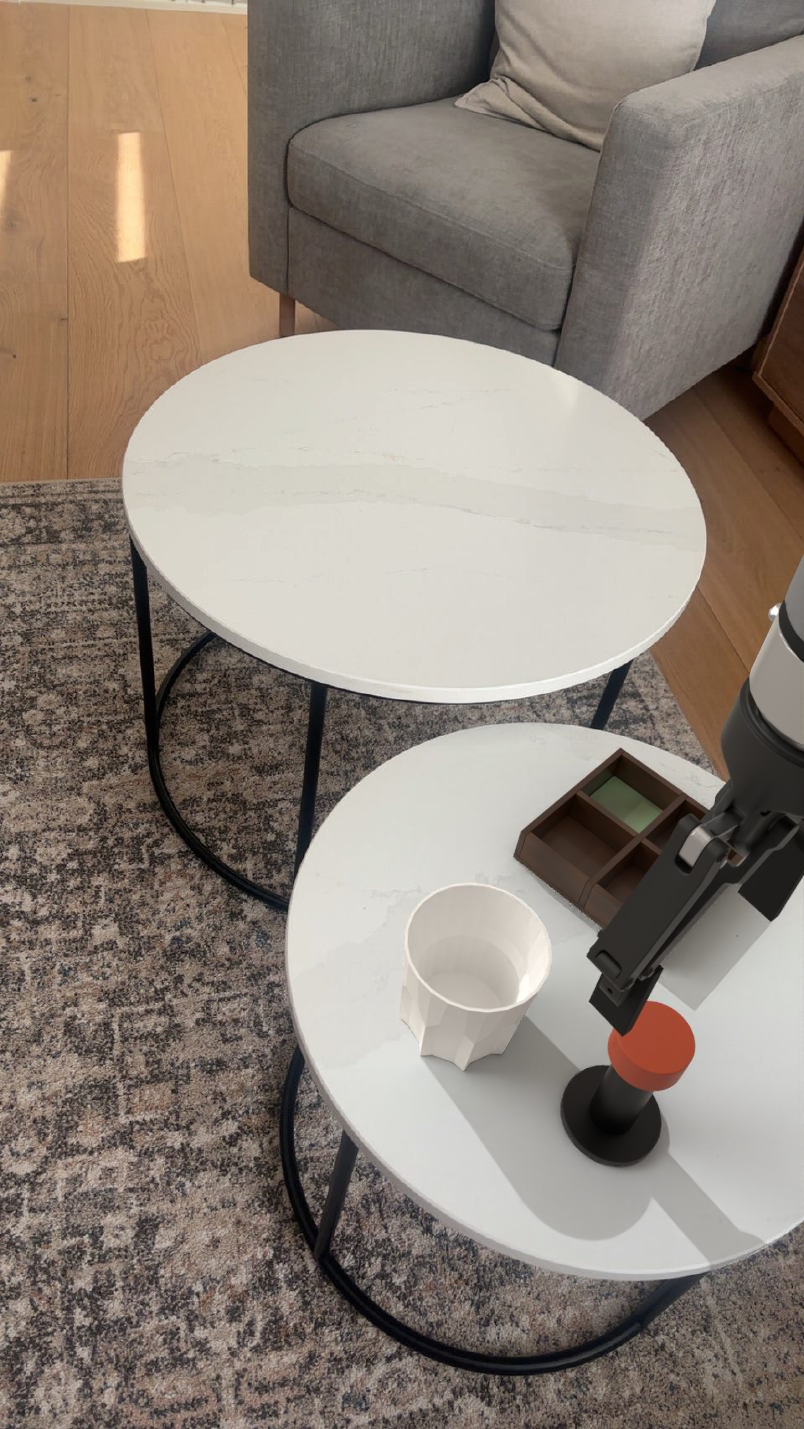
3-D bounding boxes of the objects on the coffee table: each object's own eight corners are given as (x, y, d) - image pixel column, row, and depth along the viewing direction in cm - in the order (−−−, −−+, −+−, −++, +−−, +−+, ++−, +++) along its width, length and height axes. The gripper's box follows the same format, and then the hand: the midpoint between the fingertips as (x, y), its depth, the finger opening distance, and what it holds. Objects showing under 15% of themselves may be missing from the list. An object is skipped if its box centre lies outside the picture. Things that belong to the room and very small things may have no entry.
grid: (743, 868, 93) (757, 843, 91) (650, 966, 85) (663, 942, 83) (610, 772, 99) (620, 746, 97) (512, 856, 91) (520, 830, 89)
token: (696, 1085, 69) (708, 1068, 67) (622, 1096, 68) (632, 1079, 66) (667, 1014, 72) (678, 995, 70) (597, 1023, 71) (606, 1005, 69)
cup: (548, 1049, 80) (579, 979, 72) (428, 1102, 76) (448, 1034, 69) (481, 940, 85) (504, 865, 78) (366, 984, 82) (379, 910, 74)
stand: (673, 1158, 75) (716, 1098, 68) (577, 1174, 73) (612, 1114, 67) (638, 1063, 80) (676, 998, 73) (548, 1076, 78) (577, 1011, 71)
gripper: (904, 578, 58) (766, 826, 73) (578, 766, 46) (492, 1017, 61) (1031, 660, 55) (858, 903, 70) (713, 888, 42) (586, 1124, 57)
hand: (687, 957), depth 65 cm, fingers open, 13 cm apart
